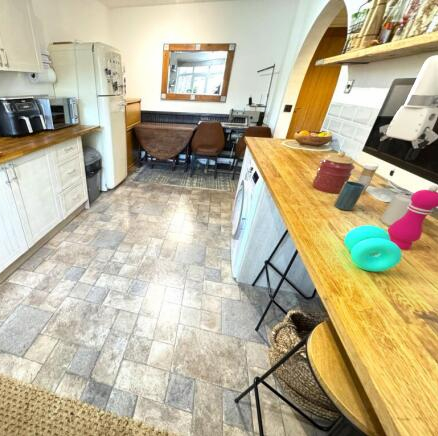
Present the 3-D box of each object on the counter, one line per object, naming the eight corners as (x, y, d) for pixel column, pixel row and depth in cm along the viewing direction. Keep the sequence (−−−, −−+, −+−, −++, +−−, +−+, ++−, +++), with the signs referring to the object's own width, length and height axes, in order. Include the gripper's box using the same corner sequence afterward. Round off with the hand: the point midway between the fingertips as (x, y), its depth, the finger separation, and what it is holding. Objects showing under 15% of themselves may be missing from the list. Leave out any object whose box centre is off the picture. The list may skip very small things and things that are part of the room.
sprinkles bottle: (365, 192, 111) (380, 164, 104) (362, 195, 108) (377, 166, 102) (354, 189, 114) (367, 162, 107) (350, 191, 112) (364, 163, 105)
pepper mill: (383, 245, 75) (420, 187, 65) (379, 235, 80) (414, 179, 70) (414, 253, 72) (459, 193, 62) (408, 242, 77) (449, 184, 67)
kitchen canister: (340, 185, 118) (356, 150, 109) (346, 195, 108) (364, 157, 99) (310, 181, 122) (323, 146, 113) (313, 190, 112) (328, 153, 103)
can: (403, 222, 88) (422, 192, 82) (409, 232, 82) (431, 201, 76) (377, 217, 91) (394, 188, 85) (381, 226, 85) (400, 195, 79)
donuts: (377, 256, 71) (395, 227, 66) (391, 278, 63) (413, 248, 58) (337, 247, 74) (351, 220, 69) (345, 267, 66) (362, 238, 61)
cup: (343, 203, 101) (355, 181, 96) (356, 210, 95) (369, 187, 90) (330, 203, 100) (341, 181, 95) (342, 210, 94) (355, 187, 89)
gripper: (467, 103, 68) (431, 162, 77) (403, 99, 83) (379, 149, 92) (445, 104, 67) (411, 163, 76) (384, 100, 82) (362, 150, 91)
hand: (394, 155), depth 84 cm, fingers open, 9 cm apart
